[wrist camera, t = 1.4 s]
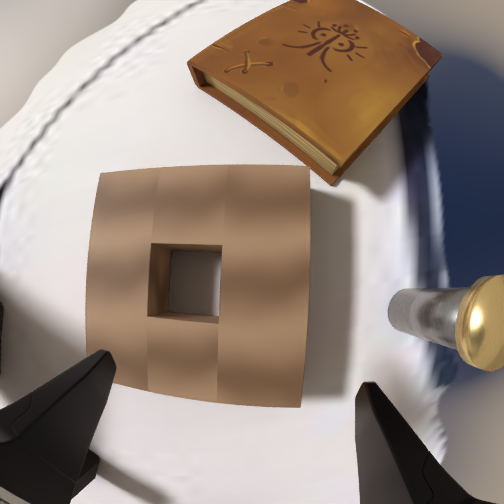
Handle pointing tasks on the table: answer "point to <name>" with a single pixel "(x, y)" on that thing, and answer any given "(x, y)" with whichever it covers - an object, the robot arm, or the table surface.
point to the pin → (456, 319)
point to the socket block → (231, 284)
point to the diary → (317, 77)
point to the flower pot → (0, 315)
